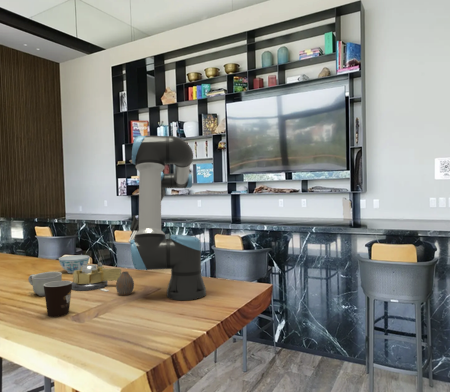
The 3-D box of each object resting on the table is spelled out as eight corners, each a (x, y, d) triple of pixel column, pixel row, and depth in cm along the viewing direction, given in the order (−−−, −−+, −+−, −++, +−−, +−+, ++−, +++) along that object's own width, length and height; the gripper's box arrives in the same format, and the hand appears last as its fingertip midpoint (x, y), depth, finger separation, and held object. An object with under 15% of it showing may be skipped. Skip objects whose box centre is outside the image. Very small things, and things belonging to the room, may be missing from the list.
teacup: (67, 292, 146) (67, 272, 146) (44, 299, 136) (44, 278, 136) (44, 288, 151) (44, 270, 152) (20, 295, 142) (20, 275, 142)
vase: (129, 296, 137) (128, 274, 137) (112, 296, 139) (112, 273, 139) (137, 292, 144) (136, 270, 144) (121, 291, 145) (121, 270, 146)
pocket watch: (82, 279, 169) (81, 258, 169) (94, 275, 177) (94, 255, 177) (95, 280, 166) (95, 259, 166) (107, 276, 174) (107, 256, 174)
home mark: (109, 291, 146) (109, 290, 146) (106, 291, 145) (106, 291, 145) (102, 289, 149) (102, 288, 149) (99, 289, 148) (99, 289, 148)
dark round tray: (104, 289, 148) (104, 268, 148) (66, 291, 146) (66, 269, 146) (110, 281, 163) (110, 262, 163) (75, 283, 161) (75, 263, 161)
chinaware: (69, 269, 195) (69, 254, 195) (94, 269, 193) (94, 255, 193) (52, 274, 180) (52, 259, 180) (80, 275, 178) (79, 259, 178)
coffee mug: (53, 319, 112) (53, 288, 112) (38, 315, 116) (38, 284, 116) (85, 309, 121) (85, 280, 122) (70, 306, 126) (69, 277, 126)
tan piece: (69, 284, 148) (69, 271, 148) (80, 277, 161) (80, 266, 161) (116, 283, 149) (116, 270, 149) (124, 276, 161) (124, 265, 161)
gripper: (164, 211, 184) (146, 248, 168) (142, 211, 189) (123, 247, 173) (158, 201, 179) (139, 238, 164) (136, 202, 184) (115, 237, 168)
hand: (131, 242), depth 168 cm, fingers closed
